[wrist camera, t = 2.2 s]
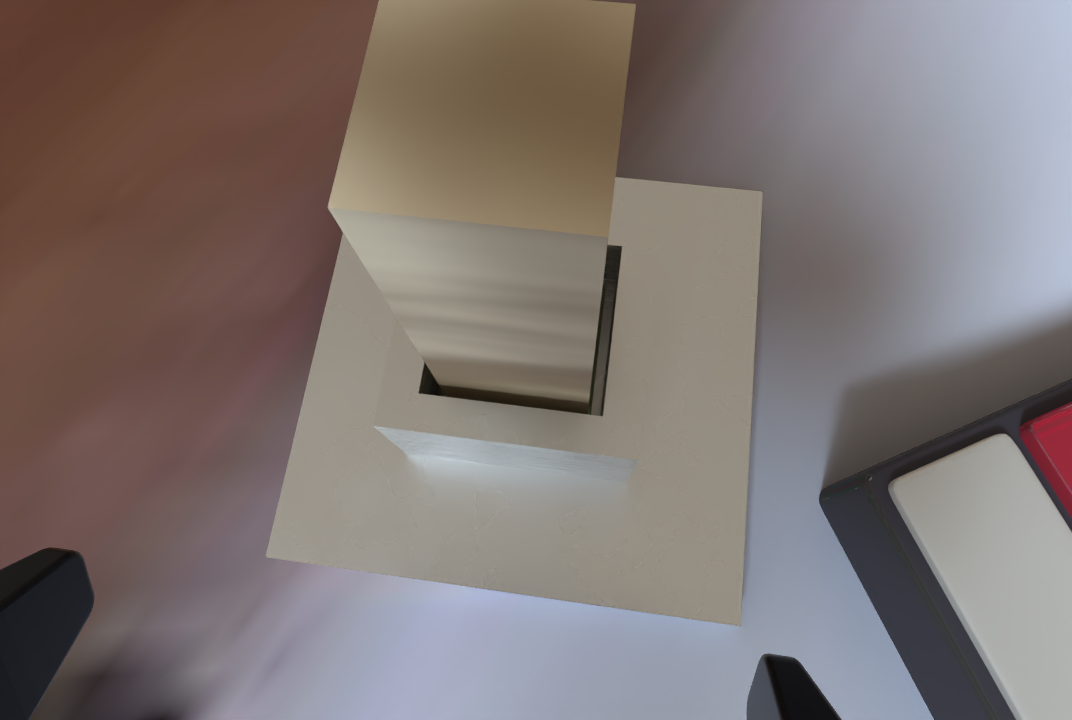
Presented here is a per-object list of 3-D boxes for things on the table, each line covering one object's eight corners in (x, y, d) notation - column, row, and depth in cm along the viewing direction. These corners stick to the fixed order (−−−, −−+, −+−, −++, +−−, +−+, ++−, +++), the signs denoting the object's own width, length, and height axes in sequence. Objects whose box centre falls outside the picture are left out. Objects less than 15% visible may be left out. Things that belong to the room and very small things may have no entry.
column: (588, 434, 22) (614, 244, 10) (454, 417, 23) (319, 212, 10) (603, 307, 23) (643, -1, 11) (475, 293, 24) (378, -22, 12)
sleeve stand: (732, 624, 21) (786, 636, 16) (278, 558, 23) (191, 548, 17) (755, 206, 26) (804, 107, 20) (369, 167, 27) (321, 65, 21)
